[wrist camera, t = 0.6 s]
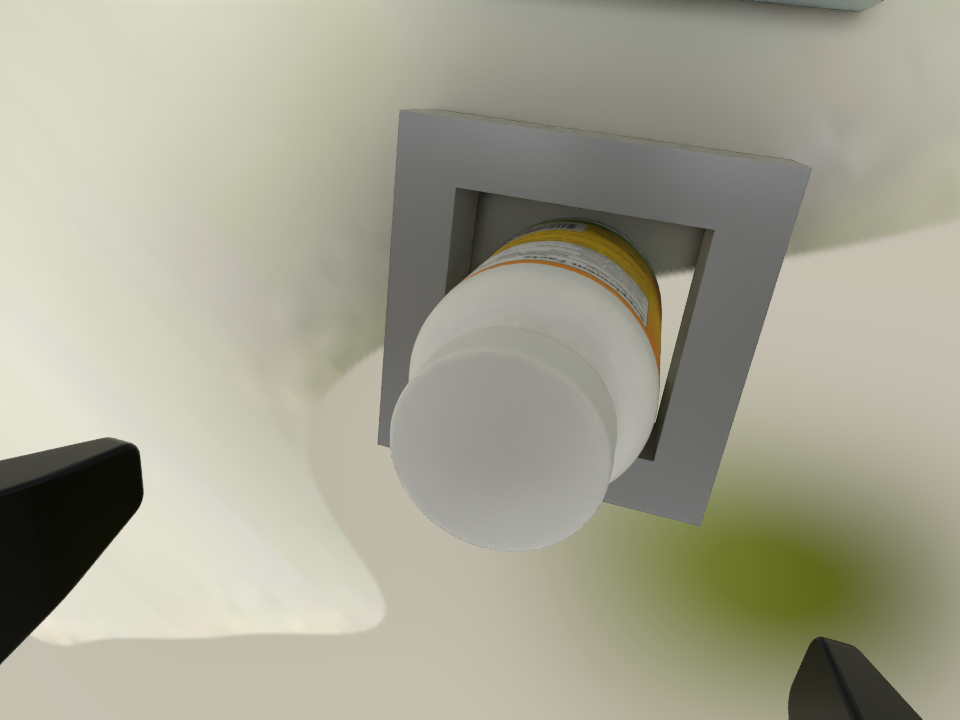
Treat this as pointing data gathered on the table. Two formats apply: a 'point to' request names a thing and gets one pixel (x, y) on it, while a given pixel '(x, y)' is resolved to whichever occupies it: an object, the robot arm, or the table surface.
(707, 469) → the holder
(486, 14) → the table surface
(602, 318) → the supplement bottle
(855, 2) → the tray
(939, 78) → the table surface
